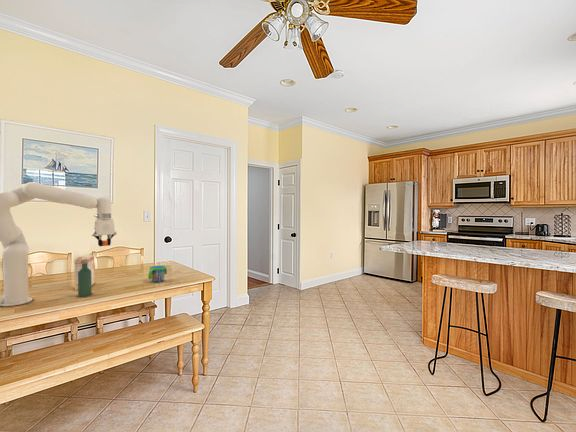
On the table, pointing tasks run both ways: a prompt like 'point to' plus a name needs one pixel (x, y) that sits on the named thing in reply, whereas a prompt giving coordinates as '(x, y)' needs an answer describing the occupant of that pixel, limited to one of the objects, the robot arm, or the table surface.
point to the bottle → (84, 281)
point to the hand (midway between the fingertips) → (104, 245)
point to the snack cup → (157, 273)
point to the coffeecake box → (78, 266)
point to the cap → (104, 243)
